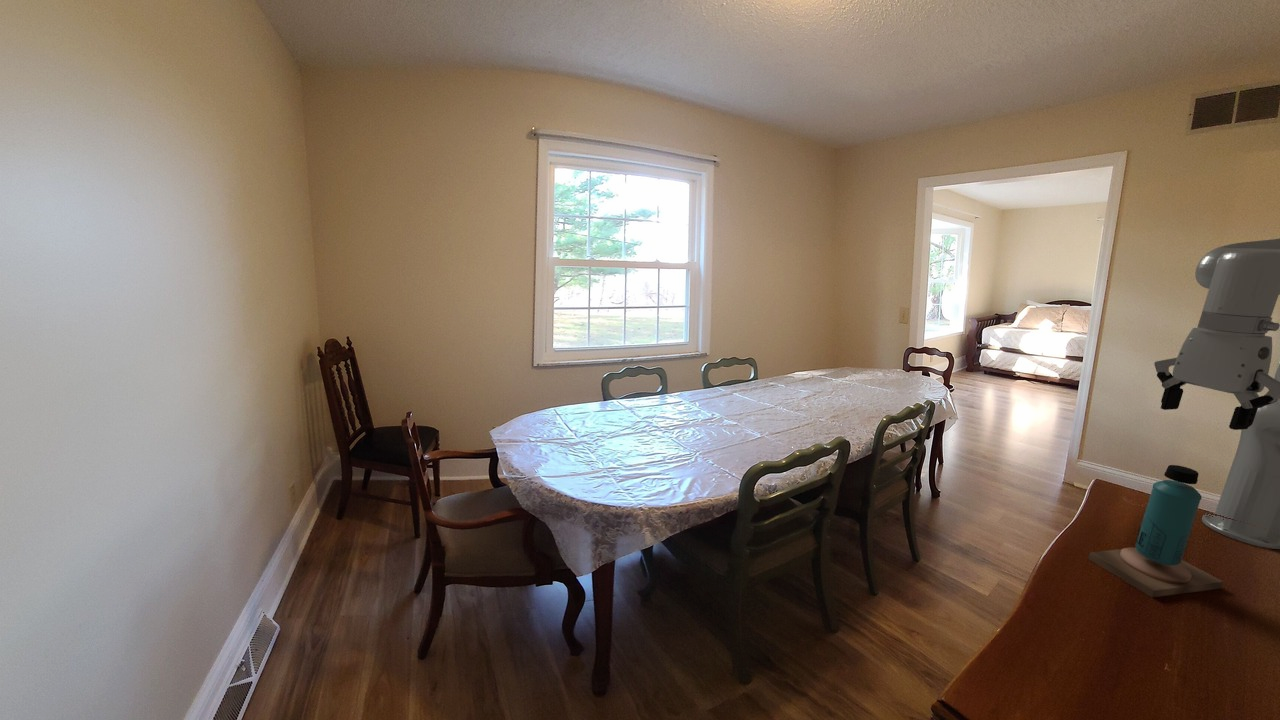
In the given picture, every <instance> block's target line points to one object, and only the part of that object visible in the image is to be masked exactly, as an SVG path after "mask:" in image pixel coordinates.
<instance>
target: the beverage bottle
mask: <svg viewBox="0 0 1280 720" xmlns="http://www.w3.org/2000/svg"><path fill="white" fill-rule="evenodd" d="M1163 476H1165V478H1167V479H1164V480H1158V481H1156V482H1154V483H1153V484H1152V489H1151V493H1150V495H1149V499H1148V501H1147V505H1146V507H1145V510H1144V513H1143V514H1144V515H1143V517H1142V520H1141V522H1140V527H1139V528H1138V530H1137V535H1136V539H1135V540H1136V541H1135V544H1134V546H1135V547H1136V551H1137V552H1138V553H1139V554H1141V555H1142V556H1144V557H1146V558H1148V559H1150V560H1152V561H1155V562H1158V563H1161V564H1165V565H1178V564H1179V563H1180V562H1181V560H1184V556H1185V555H1186V553H1187V549H1188V548H1187V547H1188V546H1189V539H1190V536H1191V534H1192V531H1193V527H1194V521H1195V518H1196V515H1197V512H1198V508H1199V506H1200V502H1201V500H1202V498H1203V497H1202V495H1201V493H1200V492H1199V491H1198V490H1197V489H1196V488H1194V487H1193V486H1191V485H1196V484H1197V483H1198V479H1199V472H1198V471H1197V470H1195V469H1192V468H1190V467H1187V466H1182V465H1178V464H1169V465H1168V466H1167V468H1166V470H1165V471H1164V475H1163ZM1135 547H1134V548H1135Z"/></svg>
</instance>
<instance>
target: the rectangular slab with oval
mask: <svg viewBox="0 0 1280 720" xmlns="http://www.w3.org/2000/svg"><path fill="white" fill-rule="evenodd" d="M1087 560H1089V561H1091V562H1092V563H1094V564H1095V565H1097V566H1099V567H1101V568H1103V570H1106V571H1107V572H1108V573H1111V574H1112V575H1114V576H1115V575H1116V576H1115V577H1117V578H1119V579H1120V578H1121V580H1122V581H1123V582H1125V583H1127V584H1129V585H1131V586H1132V587H1133V588H1135V589H1137V590H1138V591H1140V592H1142V593H1144V594H1145V595H1146V596H1148V597H1150V598H1158V597H1159V598H1160V597H1165V596H1166V597H1167V596H1174V595H1181V594H1189V593H1196V592H1205V591H1210V590H1220V589H1222V586H1223V584H1224V580H1221V579H1219V578H1218V577H1216V576H1214V575H1212V574H1210V573H1208V572H1206V571H1204V570H1203V569H1200V568H1198V567H1196V566H1194V565H1192V564H1190V563H1188V562H1187V561H1185V560H1184V559H1182V560H1181V562H1180V563H1179V564H1178V565H1165V564H1161V563H1158V562H1155V561H1152V560H1150V559H1148V558H1146V557H1144V556H1142V555H1141V554H1139V553H1138V552H1137V551H1136V547H1125V548H1120V549H1109V550H1101V551H1099V550H1098V551H1092V552H1091V551H1090V552H1089V554H1088V558H1087Z"/></svg>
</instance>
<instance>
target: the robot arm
mask: <svg viewBox="0 0 1280 720" xmlns="http://www.w3.org/2000/svg"><path fill="white" fill-rule="evenodd" d="M1194 274H1195V276H1194V277H1195V280H1196V282H1197V283H1198V284H1199V285H1200V286H1201V287H1203V288H1205V289H1207V290H1208V291H1207V295H1206V297H1205V301H1204V304H1203V308H1202V311H1201V314H1200V317H1199V320H1198V324H1197V327H1192V329H1191V330H1190V331H1189V333H1188V334H1187V336H1186V338H1185V339H1184V342H1183V344H1182V345H1181V347H1180V350H1179V352H1178V355H1177V356H1176V357H1174V358H1173V357H1171V358H1167V359H1163V360H1162V359H1161V360H1156V361H1155V362H1154V369H1155V371H1156V373H1157V374H1156V377H1157V378H1158V379H1159V381H1160V383H1161V387H1162V388H1163V389H1164V391H1163V394H1162V396H1161V400H1160V402H1161V403H1160V404H1161V405H1160V409H1161V410H1164V411H1165V410H1166V411H1168V410H1177V409H1179V407H1180V405H1181V404H1180V403H1181V401H1182V397H1183V395H1184V394H1183V393H1184V388H1181V387H1183V386H1186V384H1189V385H1193V386H1196V387H1197V386H1198V387H1202V388H1205V389H1211V390H1214V391H1219V392H1224V393H1227V394H1233V395H1234V397H1235V398H1236V399H1237V401H1238V403H1239V404H1240V406H1236V407H1235V408H1234V411H1233V413H1232V416H1231V419H1230V422H1229V425H1228V428H1229V429H1230V430H1234V431H1238V430H1241V431H1240V436H1239V441H1238V446H1237V448H1236V452H1235V454H1234V458H1233V460H1232V463H1231V466H1230V469H1229V472H1228V475H1227V477H1226V481H1225V483H1224V486H1223V488H1222V492H1221V495H1220V497H1219V500H1218V504H1217V507H1216V508H1215V509H1216V510H1215V511H1214V512H1212V513H1213V514H1217V515H1221V516H1224V517H1227V518H1231V519H1234V520H1237V521H1234V520H1231V519H1226V518H1223V517H1220V516H1215V515H1211V514H1208V515H1206V514H1207V513H1208V512H1206V513H1204V514H1205V515H1204V514H1203V515H1202V518H1201V521H1202V523H1203V524H1204V525H1206V526H1207V527H1208V528H1209V529H1210V530H1213V531H1215V532H1216V533H1219V534H1221V535H1223V536H1226V537H1227V538H1230V539H1233V540H1236V541H1239V542H1241V543H1243V544H1244V543H1245V544H1248V545H1251V546H1257V547H1260V548H1265V549H1270V550H1271V549H1272V550H1280V363H1279V364H1278V366H1277V368H1276V370H1275V374H1274V378H1273V377H1272V376H1270V375H1269V373H1270V367H1271V363H1272V357H1273V356H1272V354H1273V337H1272V336H1269V335H1266V334H1267V333H1268V332H1269V331H1271V332H1277V331H1278V330H1279V329H1280V323H1279V322H1273V321H1272V320H1273V317H1272V316H1273V314H1274V313H1273V312H1274V309H1275V306H1276V304H1277V301H1278V298H1279V295H1280V238H1272V239H1264V240H1252V241H1244V242H1237V243H1236V242H1235V243H1229V244H1226V245H1225V244H1224V245H1223V246H1221V245H1220V246H1218V247H1216V248H1214V249H1212V250H1210V251H1209V252H1207V253H1206V254H1204V256H1203V257H1202V258H1201V259H1200V261H1198V263H1197V265H1196V268H1195V273H1194ZM1170 367H1173V370H1172V373H1171V372H1170ZM1265 387H1266V388H1267V389H1268V391H1267V392H1266V393H1265V394H1264V395H1261V396H1260V395H1259V394H1258V393H1261V392H1263V390H1264V388H1265ZM1209 515H1211V516H1209ZM1212 516H1213V517H1212ZM1223 519H1224V520H1223ZM1239 521H1241V522H1239ZM1242 522H1245V523H1242ZM1247 523H1249V524H1247ZM1250 524H1252V525H1250ZM1253 525H1256V526H1260V527H1256V526H1253ZM1261 527H1263V528H1261ZM1264 528H1266V529H1264ZM1267 529H1269V530H1267ZM1270 530H1271V531H1270ZM1272 530H1273V531H1272ZM1276 531H1277V532H1276Z"/></svg>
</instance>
